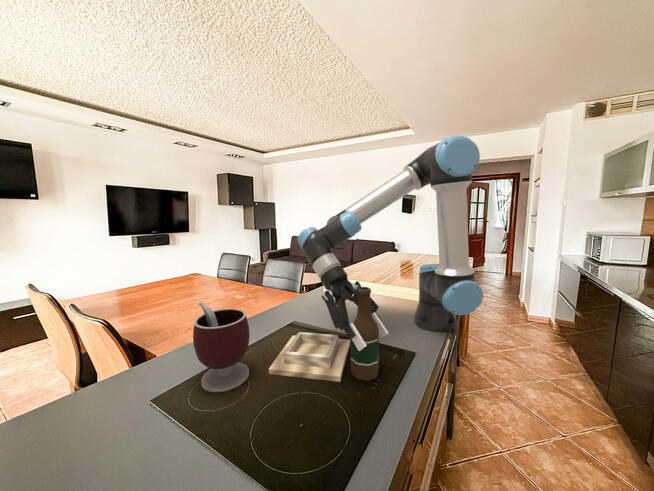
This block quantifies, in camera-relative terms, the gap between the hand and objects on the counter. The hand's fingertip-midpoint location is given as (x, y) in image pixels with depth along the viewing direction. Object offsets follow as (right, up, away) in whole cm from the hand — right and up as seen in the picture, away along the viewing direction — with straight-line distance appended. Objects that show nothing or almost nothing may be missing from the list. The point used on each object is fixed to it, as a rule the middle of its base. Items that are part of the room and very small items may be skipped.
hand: (374, 341), depth 69 cm
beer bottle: (-2, -10, +4) cm, 11 cm away
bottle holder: (-17, -9, +12) cm, 22 cm away
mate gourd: (-41, -11, +4) cm, 42 cm away
